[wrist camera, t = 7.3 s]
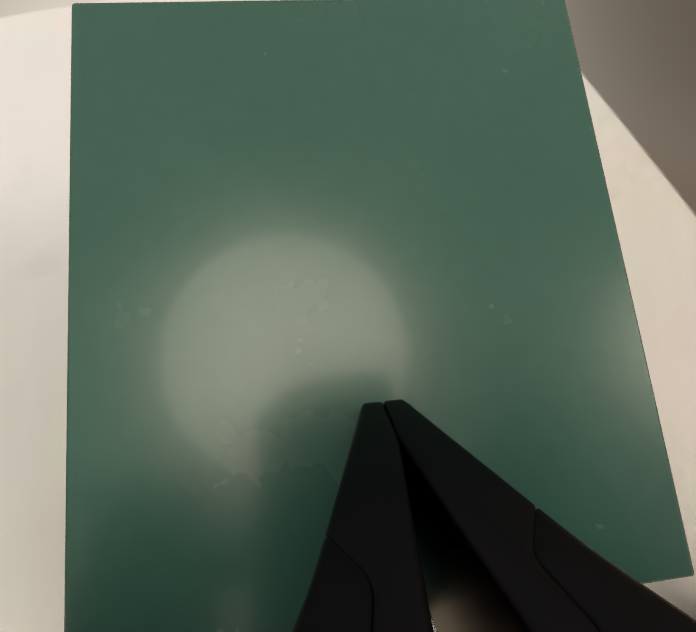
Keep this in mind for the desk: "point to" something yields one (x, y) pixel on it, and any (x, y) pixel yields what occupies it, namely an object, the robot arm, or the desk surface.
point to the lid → (334, 292)
